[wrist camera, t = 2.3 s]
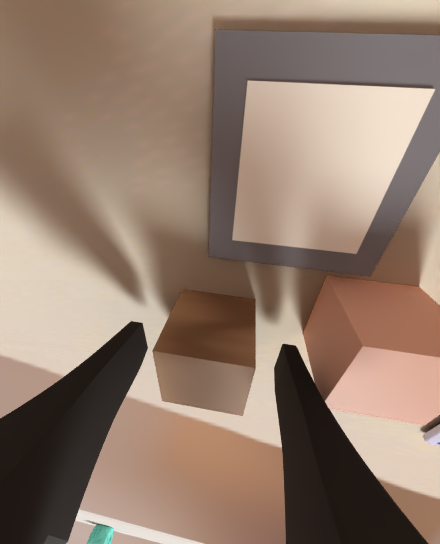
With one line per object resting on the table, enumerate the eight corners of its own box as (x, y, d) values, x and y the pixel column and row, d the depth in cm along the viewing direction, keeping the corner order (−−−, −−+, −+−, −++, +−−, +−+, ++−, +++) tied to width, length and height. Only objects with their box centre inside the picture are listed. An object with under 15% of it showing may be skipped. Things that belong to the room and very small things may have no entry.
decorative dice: (110, 526, 97) (99, 555, 91) (115, 529, 102) (105, 556, 95) (94, 522, 98) (83, 550, 92) (100, 525, 103) (90, 552, 96)
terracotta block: (417, 285, 9) (506, 367, 6) (375, 342, 12) (424, 425, 8) (326, 274, 10) (362, 345, 6) (302, 331, 12) (320, 407, 9)
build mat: (488, 42, 5) (507, 35, 5) (365, 271, 9) (371, 277, 9) (217, 35, 6) (214, 27, 5) (210, 252, 10) (208, 257, 9)
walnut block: (255, 298, 11) (255, 368, 8) (245, 345, 13) (242, 415, 10) (182, 288, 11) (152, 351, 8) (184, 336, 14) (162, 401, 10)
